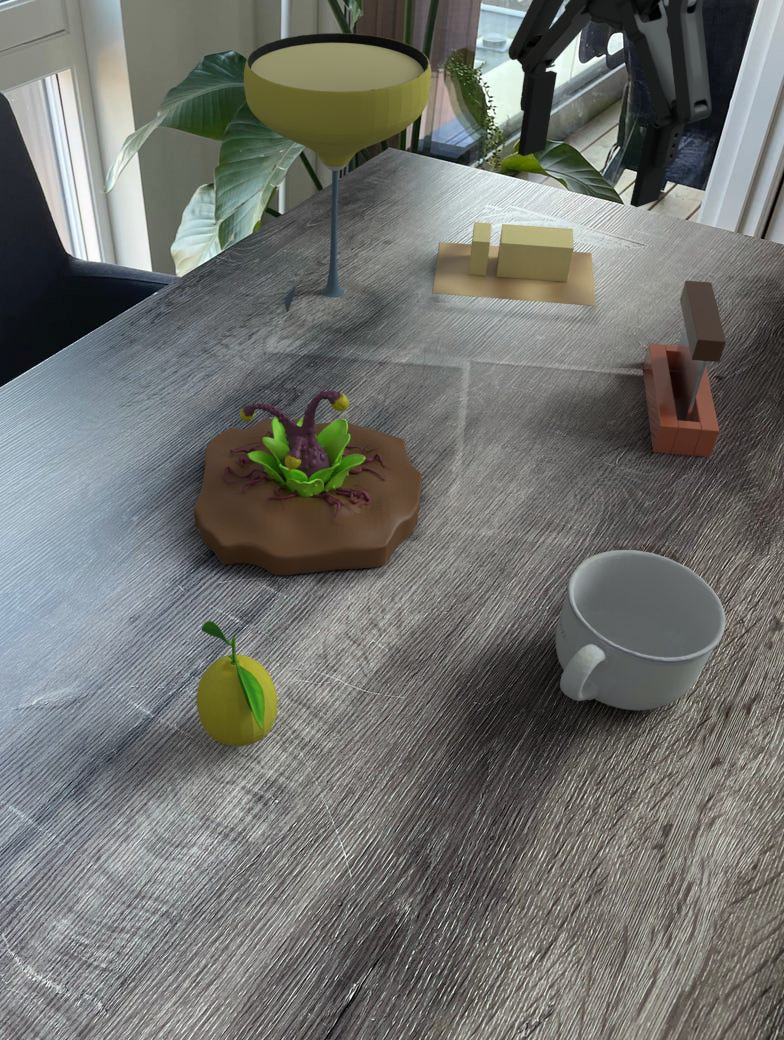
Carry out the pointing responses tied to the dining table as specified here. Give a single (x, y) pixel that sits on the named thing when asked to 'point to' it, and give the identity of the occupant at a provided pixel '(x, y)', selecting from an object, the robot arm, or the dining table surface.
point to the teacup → (635, 630)
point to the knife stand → (662, 413)
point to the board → (510, 279)
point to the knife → (695, 344)
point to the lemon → (235, 697)
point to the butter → (535, 252)
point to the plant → (306, 493)
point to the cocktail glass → (336, 100)
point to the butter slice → (480, 248)
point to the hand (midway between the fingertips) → (585, 176)
